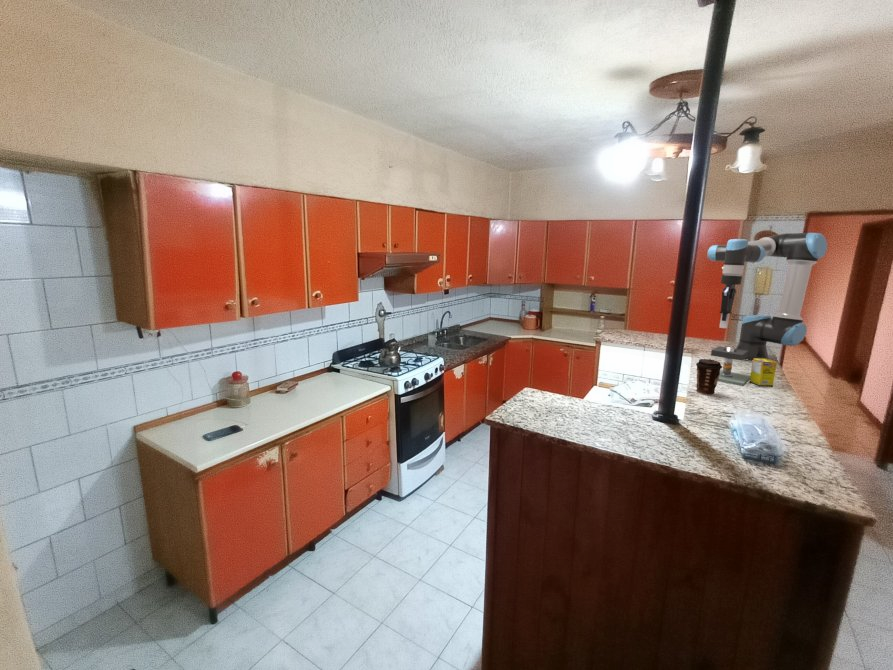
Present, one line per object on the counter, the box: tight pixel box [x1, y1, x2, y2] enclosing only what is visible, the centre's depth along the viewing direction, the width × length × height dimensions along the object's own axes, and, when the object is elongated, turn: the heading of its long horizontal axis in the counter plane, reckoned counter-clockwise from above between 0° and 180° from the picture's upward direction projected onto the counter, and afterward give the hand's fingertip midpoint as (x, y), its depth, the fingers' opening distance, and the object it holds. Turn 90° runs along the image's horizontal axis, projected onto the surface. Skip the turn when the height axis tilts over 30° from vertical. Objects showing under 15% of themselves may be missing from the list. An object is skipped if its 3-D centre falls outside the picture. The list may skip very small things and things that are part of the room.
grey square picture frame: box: [710, 346, 748, 361], centre depth 185 cm, size 11×11×2 cm
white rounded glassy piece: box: [720, 346, 736, 377], centre depth 186 cm, size 4×4×13 cm
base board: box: [718, 369, 751, 387], centre depth 187 cm, size 16×16×1 cm
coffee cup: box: [695, 358, 723, 396], centre depth 166 cm, size 9×8×13 cm
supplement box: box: [748, 358, 778, 388], centre depth 177 cm, size 6×6×11 cm
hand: (723, 327), depth 189 cm, fingers closed
